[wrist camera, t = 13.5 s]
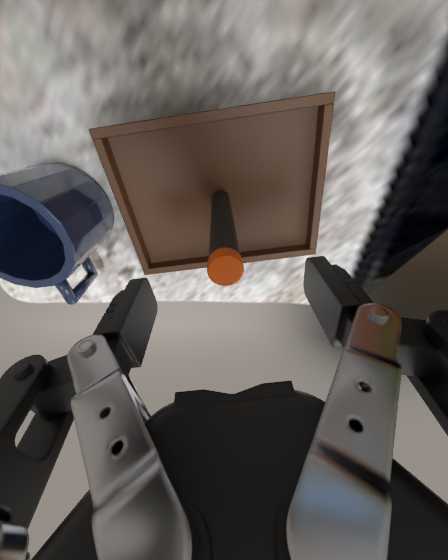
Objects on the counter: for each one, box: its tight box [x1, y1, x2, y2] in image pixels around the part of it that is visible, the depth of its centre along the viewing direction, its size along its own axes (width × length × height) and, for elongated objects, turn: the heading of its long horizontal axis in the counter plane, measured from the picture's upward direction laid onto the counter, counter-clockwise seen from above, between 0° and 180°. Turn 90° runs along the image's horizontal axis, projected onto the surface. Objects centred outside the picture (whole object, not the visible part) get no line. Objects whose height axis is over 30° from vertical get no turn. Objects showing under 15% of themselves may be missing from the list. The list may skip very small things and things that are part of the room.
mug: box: [0, 163, 113, 305], centre depth 23 cm, size 13×9×9 cm
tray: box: [89, 92, 335, 275], centre depth 25 cm, size 16×22×2 cm
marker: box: [207, 190, 244, 286], centre depth 19 cm, size 2×2×15 cm
